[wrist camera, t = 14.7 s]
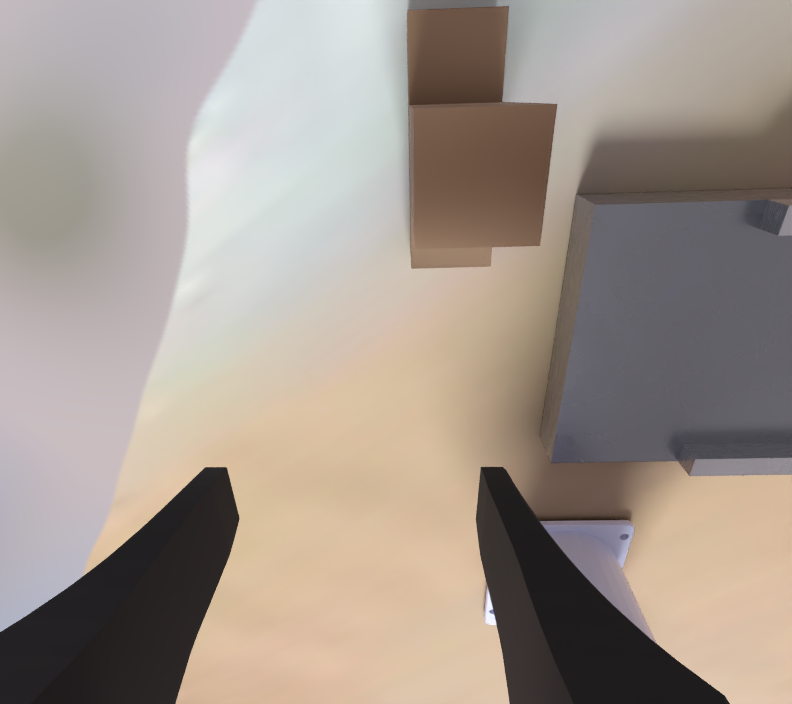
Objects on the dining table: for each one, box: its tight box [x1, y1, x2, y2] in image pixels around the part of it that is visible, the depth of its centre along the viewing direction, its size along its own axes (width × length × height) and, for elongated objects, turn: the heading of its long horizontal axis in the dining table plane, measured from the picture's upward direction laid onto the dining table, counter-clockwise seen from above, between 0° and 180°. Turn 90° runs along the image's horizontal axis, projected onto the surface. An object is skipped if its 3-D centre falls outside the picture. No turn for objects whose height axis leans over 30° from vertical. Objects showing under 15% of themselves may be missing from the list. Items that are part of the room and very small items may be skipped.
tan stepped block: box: [407, 6, 557, 268], centre depth 14 cm, size 8×3×8 cm, turn 2°
